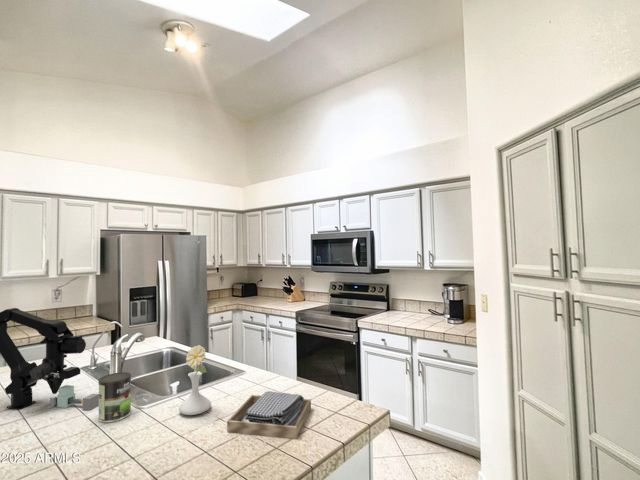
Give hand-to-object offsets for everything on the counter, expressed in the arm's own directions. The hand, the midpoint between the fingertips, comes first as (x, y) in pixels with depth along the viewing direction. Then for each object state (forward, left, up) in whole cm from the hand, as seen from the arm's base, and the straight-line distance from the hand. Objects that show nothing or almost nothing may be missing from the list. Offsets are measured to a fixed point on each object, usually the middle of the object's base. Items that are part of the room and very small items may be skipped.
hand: (54, 393), depth 134 cm
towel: (+91, +3, -5) cm, 91 cm away
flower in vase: (+59, +4, -4) cm, 60 cm away
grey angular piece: (+9, 0, -4) cm, 10 cm away
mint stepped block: (+5, 0, -4) cm, 7 cm away
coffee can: (+31, -4, -4) cm, 32 cm away
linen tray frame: (+89, +3, -4) cm, 90 cm away
